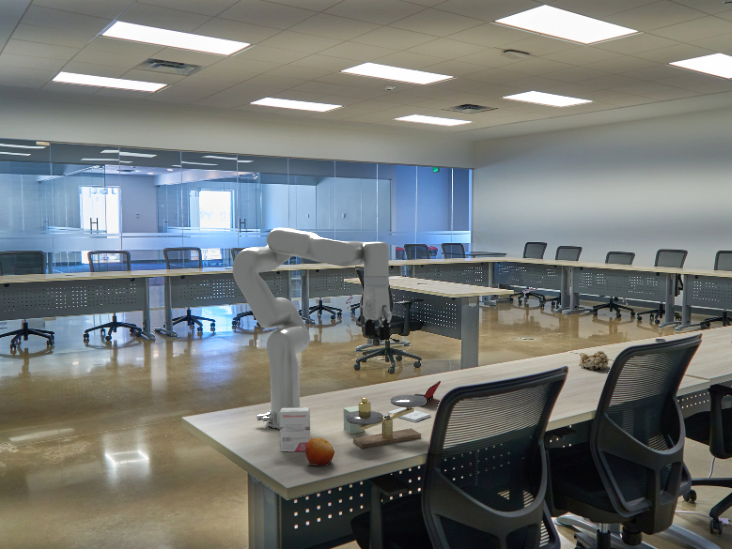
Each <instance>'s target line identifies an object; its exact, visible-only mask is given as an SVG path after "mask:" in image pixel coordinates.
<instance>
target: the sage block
mask: <svg viewBox="0 0 732 549" xmlns="http://www.w3.org/2000/svg"><path fill="white" fill-rule="evenodd" d="M357 411H359V406H358V405H354V406H347V407H343V430H344V431H345V432H347V433H349V435H352V434H359V433H364V432H366V429H365V430H361V429H360V427H359V426H360V425H358V424H352V423H349V422H348V421H347V420H346V416H347V415H348V414H349V413H352V412H357Z"/></svg>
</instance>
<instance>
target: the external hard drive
mask: <svg viewBox="0 0 732 549" xmlns="http://www.w3.org/2000/svg"><path fill="white" fill-rule="evenodd" d="M405 409H406V407H398V408H396V409H393V410H390V411H387V415H391V414H393V413H396V412H399V411H402V410H405ZM430 416H431V417H432V414H431V413H426V412H423V411H422V412H421V411H419V410H415V409H414V412H412V413H409V414H406V415H403V416H401V417H399V419H401V418H403V419H402V420H405V419H406V420H405V421H409V420H410V421H409V422H412V421H413V422H412V423H418V422H420V420H421V421H422V419H423V420H426V419H429V418H431V417H430ZM428 417H429V418H428ZM425 418H426V419H425ZM417 421H418V422H417Z"/></svg>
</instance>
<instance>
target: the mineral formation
mask: <svg viewBox="0 0 732 549" xmlns="http://www.w3.org/2000/svg"><path fill="white" fill-rule="evenodd" d="M579 357H580V358H579V361H580V362H579V363H578V367H583V368H589V370H592V371H593V370H594V369H595V370H598V369H600V370H603V369H606V368H607V367H608V365H609V360H610V359H609V358H608V355H607V354H606V353H605V352H604V351H603V350H598V351H596V353H594V354H591V355H587V353H585V352H584V353H583V352H580V353H579Z"/></svg>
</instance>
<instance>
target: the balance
mask: <svg viewBox="0 0 732 549" xmlns="http://www.w3.org/2000/svg"><path fill="white" fill-rule="evenodd" d="M427 403H428V402H427V399H426V398H425V397H422V396H418V395H414V394H400V395H396V396H392V397H391V398H390V404H392V405H393V406H396V407H398V408H402V407H403V408H406V409H405V410H402V411H399V412H396V413H393V414H391V415H388V414H385V415H384V414H383V413H380V412H379V411H373V410H371V409H372V407H371V404H372V403H371V401H368V399H367V398H366V397H362V399H361V401H359V402H358V403H357V404H358V405H357V406H359V411H357V412H352V413H349V414H348V415H347V416H346V420H347V421H348V422H349V423H352V424H358V425H360V426H359V427H360V429H361V430H365V431H366V430H368V429H370V428H372V427H375V426H378V425H381V433H378V434H372V435H371V434H370V435H365V436H360V437H354V438H352V441H353V442H352V443H354V444H355V445H356V446H357V447H359V448H360V449H368V448H372V447H373V448H374V447H379V446H382V445H383V444H384V445H389V444H388V443H390V444H394V442H395V443H399V442H405V441H410V440H415V439H416V438H417V439H420V438H421V439H422V433H420V432H419V431H417V430H415V429H413V428H412V427H411V428H405V429H399V430H393V429H394V424H393V422H394V420H395V419H397V418H398V417H401V416H403V415H406V414H409V413H412V412H414V410H415V409H414V408H416V407H417V408H418V407H423V406H425V405H427Z"/></svg>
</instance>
